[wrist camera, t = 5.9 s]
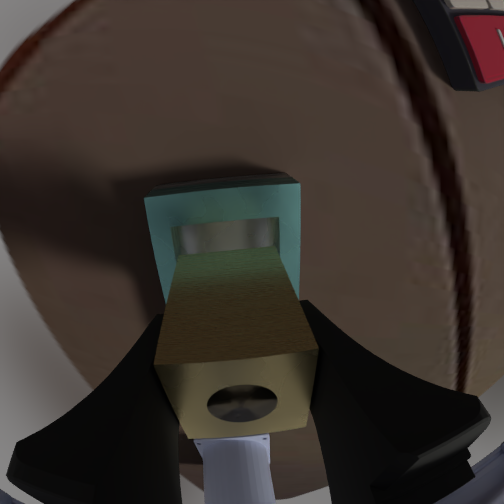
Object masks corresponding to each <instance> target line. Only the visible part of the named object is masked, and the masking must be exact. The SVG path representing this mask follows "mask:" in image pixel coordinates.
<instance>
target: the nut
mask: <svg viewBox="0 0 504 504" xmlns="http://www.w3.org/2000/svg"><path fill="white" fill-rule="evenodd" d="M318 351H319V348H318V345H317V343H316V340H315V338H314V335H313V333H312V331H311V328H310V326H309V323H308V321H307V319H306V316H305V314H304V312H303V309H302V307H301V305H300V302H299V300H298V297H297V295H296V293H295V290H294V288H293V286H292V283H291V281H290V279H289V277H288V274H287V272H286V270H285V267H284V265H283V263H282V260H281V258H280V256H279V254H278V251H277V249H276V247H275V246H269V247H258V248H248V249H237V250H227V251H217V252H206V253H196V254H186V255H179V256H178V259H177V263H176V267H175V271H174V275H173V279H172V283H171V287H170V291H169V295H168V299H167V304H166V308H165V312H164V317H163V321H162V326H161V330H160V335H159V340H158V345H157V350H156V355H155V360H154V367H155V370H156V372H157V374H158V377H159V379H160V381H161V384H162V386H163V388H164V390H165V392H166V395H167V397H168V399H169V401H170V403H171V405H172V407H173V410H174V412H175V414H176V416H177V418H178V420H179V422H180V424H181V426H182V428H183V429H184V431H185V433H186V435H187V437H188V439H199V438H221V437H235V436H246V435H255V434H263V433H271V432H278V431H284V430H290V429H296V428H301V427H306V423H307V418H308V413H309V408H310V402H311V396H312V390H313V384H314V378H315V372H316V365H317V359H318Z"/></svg>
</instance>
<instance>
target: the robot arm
mask: <svg viewBox="0 0 504 504" xmlns="http://www.w3.org/2000/svg"><path fill="white" fill-rule="evenodd" d="M299 302H300V305H301V307H302V309H303V312H304V314H305V316H306V319H307V321H308V323H309V326H310V328H311V331H312V333H313V335H314V338H315V340H316V343H317V345H318V348H319V351H318V359H317V365H316V372H315V378H314V384H313V390H312V396H311V402H310V411H311V414H312V416H313V419H314V422H315V426H316V429H317V433H318V438H319V442H320V446H321V450H322V455H323V459H324V464H325V468H326V474H327V479H328V484H329V489H330V494H331V501H332V504H504V442H503V443H502V444H501V445H500V446H499V447H498V448H497V449H495V450H494V451H493V452H491V453H490V454H489V455H487V456H486V457H485V458H484V459H482V460H481V461H479V462H478V463H477V464H475V465H474V466H472V467H470V465H469V463H468V461H467V460H468V459H469V458H470V457H471V454H470V452H469V450H468V449H467V448H468V447H469V446H470V445H471V444H472V443H473V442H474V441H475V440H476V439H477V438H478V437H479V436H480V435H481V434H482V433H483V432H484V430H485V429H486V428H487V427H488V425H489V424H490V421H491V416H490V414H489V413H488V411H487V410H486V409H485V407H484V406H483V404H482V403H481V401H480V400H479V399H478V397H477V396H474V395H470V394H466V393H462V392H458V391H454V390H450V389H447V388H444V387H441V386H438V385H435V384H432V383H430V382H427V381H425V380H422V379H420V378H417V377H415V376H413V375H411V374H409V373H407V372H405V371H402V370H400V369H398V368H397V367H395V366H393V365H391V364H389V363H388V362H386V361H384V360H383V359H381V358H379V357H378V356H376V355H374V354H373V353H371V352H370V351H368V350H367V349H365V348H364V347H363V346H361V345H360V344H358V343H357V342H356V341H354V340H353V339H352V338H350V337H349V336H348V335H347V334H345V333H344V332H343V331H342V330H341V329H339V328H338V327H337V326H336V325H335V324H334V323H332V322H331V321H330V320H329V319H328V318H327V317H326V316H325V315H324V314H322V313H321V312H320V311H319V310H318V309H317V308H316V307H315V306H314V305H313V304H312V303H310V302H309V301H308V300H302V301H299ZM163 317H164V314H157V315H156V316H155V318H154V319H153V320H152V322H151V323H150V324H149V326H148V327H147V328H146V330H145V331H144V332H143V334H142V335H141V336H140V338H139V339H138V340H137V342H136V343H135V344H134V346H133V347H132V348H131V349H130V351H129V352H128V353H127V355H126V356H125V357H124V358H123V359H122V361H121V362H120V363H119V364H118V365H117V366H116V368H115V369H114V370H113V371H112V372H111V373H110V375H109V376H108V377H107V378H106V379H105V380H104V381H103V382H102V383H101V384H100V385H99V386H98V387H97V388H96V389H95V390H94V391H92V392H91V393H90V394H89V395H88V396H87V397H86V398H84V399H83V400H82V401H81V402H80V403H78V404H77V405H76V406H75V407H74V408H72V409H71V410H70V411H69V412H67V413H66V414H64V415H63V416H62V417H60V418H59V419H57V420H56V421H54V422H53V423H51V424H50V425H48V426H46V427H45V428H43V429H42V430H40V431H38V432H36V433H34V434H32V435H30V436H28V437H27V438H25V439H22V440H20V441H18V442H17V443H16V446H15V448H14V451H13V455H12V458H11V461H10V464H9V467H8V471H7V474H6V476H7V478H8V480H9V481H10V482H11V483H12V484H14V485H15V486H17V487H18V488H19V489H21V490H22V491H24V492H26V493H27V494H29V495H30V496H32V497H33V498H35V499H37V500H39V501H40V502H42V503H44V504H182V498H181V488H180V475H179V453H178V436H179V424H180V422H179V420H178V418H177V416H176V414H175V412H174V410H173V407H172V405H171V403H170V401H169V399H168V397H167V395H166V392H165V390H164V388H163V386H162V384H161V381H160V379H159V377H158V374H157V372H156V370H155V367H154V360H155V355H156V350H157V345H158V340H159V335H160V330H161V326H162V321H163ZM194 443H195V445H196V447H197V449H198V451H199V453H200V455H201V457H202V459H203V473H204V497H205V504H276V501H275V496H274V490H273V485H272V479H271V473H270V468H269V464H270V438H269V433H263V434H255V435H246V436H235V437H221V438H199V439H194ZM0 504H24V503H22V502H20V501H18V500H16V499H14V498H12V497H11V496H10V495H8V494H7V493H5V492H4V491H2V490H1V489H0Z"/></svg>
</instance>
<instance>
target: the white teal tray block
mask: <svg viewBox="0 0 504 504" xmlns="http://www.w3.org/2000/svg"><path fill="white" fill-rule="evenodd" d="M144 202H145V208H146V214H147V219H148V225H149V230H150V235H151V240H152V245H153V250H154V255H155V260H156V264H157V269H158V273H159V278H160V282H161V286H162V290H163V294H164V298H165V302H166V304H167V299H168V295H169V291H170V287H171V283H172V279H173V275H174V271H175V267H176V263H177V259H178V256H179V255H186V254H196V253H206V252H217V251H227V250H237V249H248V248H258V247H269V246H275V247H276V249H277V251H278V254H279V256H280V258H281V260H282V263H283V265H284V267H285V270H286V272H287V274H288V277H289V279H290V281H291V283H292V286H293V288H294V290H295V293H296V295H297V297H298V300H299V276H300V183H299V182H298V181H296V180H295V179H294V178H292V177H291V176H290V175H288V174H287V173H279V174H262V175H248V176H235V177H224V178H213V179H204V180H194V181H186V182H177V183H169V184H162V185H156V186H155V187H154V188H153V189H152V190H151V191H150V192H149V193H148V194H147V195H146V196H145V197H144Z"/></svg>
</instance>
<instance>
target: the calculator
mask: <svg viewBox="0 0 504 504" xmlns="http://www.w3.org/2000/svg"><path fill="white" fill-rule="evenodd" d="M413 1H414V3H415V5H416V7H417V9H418V10H419V12H420V14H421V16H422V18H423V20H424V22H425V24H426V26H427V28H428V30H429V32H430V34H431V36H432V38H433V40H434V42H435V45H436V47H437V49H438V51H439V54H440V56H441V59H442V61H443V64H444V66H445V69H446V71H447V74H448V77H449V79H450V82H451V85H452V87H453V89H454V90H456V91H478V92H479V91H484V90H487V89H490V88H493V87H497V86H500V85H503V84H504V0H413Z"/></svg>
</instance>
